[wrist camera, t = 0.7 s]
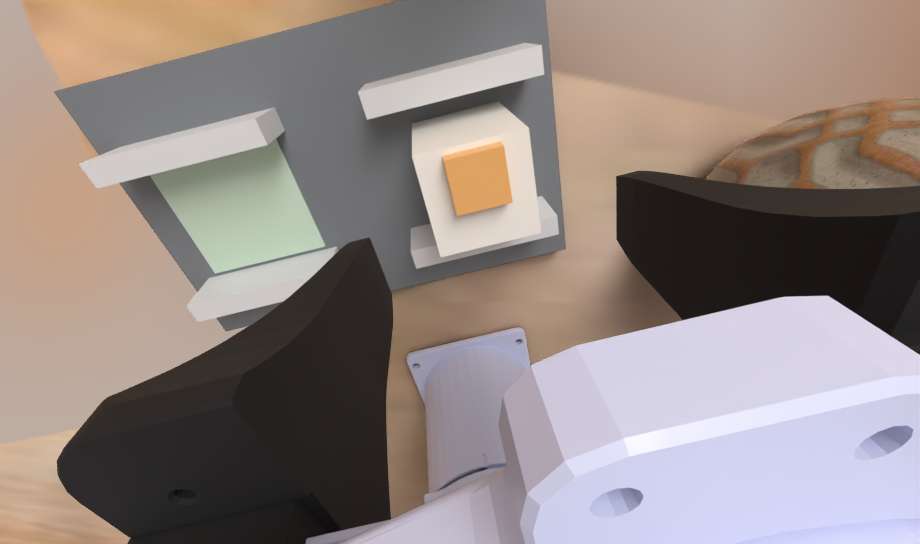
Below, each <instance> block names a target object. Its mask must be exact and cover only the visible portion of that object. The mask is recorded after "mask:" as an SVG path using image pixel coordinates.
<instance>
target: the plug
mask: <svg viewBox="0 0 920 544" xmlns="http://www.w3.org/2000/svg"><path fill="white" fill-rule="evenodd" d="M412 159H413V163H414V166H415V170H416V173H417V177H418V180H419V184H420V187H421V191H422V194H423V198H424V201H425V205H426V208H427V212H428V215H429V219H430V222H431V226H432V229H433V233H434V236H435V240H436V243H437V247H438V250H439V254H440V257H445V256H449V255H453V254H457V253H461V252H465V251H469V250H474V249H478V248H482V247H486V246H490V245H494V244H498V243H502V242H506V241H510V240H515V239H519V238H523V237H527V236H531V235H535V234H539V233H541V226H540V217H539V209H538V201H537V192H536V184H535V175H534V167H533V158H532V150H531V141H530V133H529V127H527V126H526V125H525V124H524V123H523V122H522V121H520V120H519V119H518V118H517V117H516V116H515V115H513V114H512V113H511V112H510V111H509V110H508V109H506V108H505V107H504V106H503V105H502V104H501V103H499V102H494V103H490V104H486V105H482V106H478V107H474V108H470V109H466V110H462V111H458V112H454V113H450V114H446V115H442V116H438V117H435V118H431V119H427V120H423V121H419V122H415V123H412Z"/></svg>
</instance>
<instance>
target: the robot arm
mask: <svg viewBox="0 0 920 544" xmlns="http://www.w3.org/2000/svg"><path fill="white" fill-rule="evenodd" d="M616 186H617V241H618V242H619V244H620V246H621V247H622V249H623V251H624V252H625V254H626V255H627V257H628V258H629V260H630V261H631V263H632V264H633V265H634V266H635V268H636V269H637V270H638V271H639V272H640V273H641V274H642V275H643V277H644V278H645V279H646V280H647V281H648V282H649V283H650V284H651V285H652V286H653V288H654V289H655V290H656V291H657V292H658V293H659V294H660V295H661V296H662V297H663V298H664V300H665V301H666V302H667V303H668V304H669V305H670V306H671V307H672V308H673V309H674V310H675V311H676V313H677V314H678V315H679V316H680V317H681V318H682V321H677V322H673V323H669V324H665V325H660V326H656V327H652V328H648V329H643V330H639V331H635V332H631V333H626V334H622V335H618V336H614V337H609V338H605V339H601V340H597V341H592V342H588V343H584V344H580V345H575V346H572V347H570V348H568V349H565V350H563V351H561V352H558V353H556V354H554V355H552V356H549V357H547V358H545V359H543V360H540V361H538V362H536V363H534V364H532V365H531V366H530V360H529V354H528V348H527V342H526V336H525V333H524V330H523V329H522V328H520V327H516V328H511V329H507V330H503V331H499V332H495V333H490V334H486V335H482V336H478V337H474V338H469V339H465V340H461V341H457V342H452V343H448V344H444V345H440V346H436V347H431V348H427V349H423V350H419V351H415V352H411V353H409V354H408V355H407V364H408V366H409V368H410V371H411V373H412V376H413V378H414V381H415V383H416V386H417V388H418V390H419V393H420V395H421V398H422V400H423V403H424V405H425V408H426V433H427V459H428V486H429V493H428V494H425V495H424V504H423V505H421V506H418V507H416V508H414V509H412V510H410V511H408V512H405V513H403V514H401V515H399V516H397V517H395V518H392V519H391V515H390V500H389V482H388V464H387V434H386V388H387V377H388V367H389V358H390V349H391V339H392V329H393V306H392V293H391V291H390V288H389V285H388V283H387V280H386V278H385V275H384V273H383V270H382V267H381V265H380V262H379V260H378V257H377V254H376V252H375V249H374V247H373V244H372V242H371V239H370V237H369V238H365V239H361V240H357V241H352V242H349V243H348V244H346V245H345V246H344V247H342V248H341V249H340V250H339V251H338V252H337V253H336V254H335V255H334V256H333V257H332V258H331V259H330V260H329V261H328V262H327V263H326V264H325V265H324V266H323V267H321V268H320V269H319V270H318V271H317V272H316V273H315V274H314V275H313V276H312V277H311V278H310V279H309V280H308V281H307V282H305V283H304V284H303V285H302V286H301V287H300V288H299V289H298V290H296V291H295V292H294V293H293V294H292V295H291V296H290V297H288V298H287V299H286V300H285V301H284V302H282V303H281V304H280V305H278V306H277V307H276V308H274V309H273V310H272V311H270V312H269V313H268V314H266V315H265V316H263V317H262V318H261V319H259V320H258V321H256V322H255V323H253V324H252V325H250V326H248V327H247V328H245V329H244V330H242V331H241V332H239V333H237V334H236V335H234V336H233V337H231V338H229V339H228V340H226V341H224V342H223V343H221V344H219V345H217V346H216V347H214V348H212V349H210V350H208V351H207V352H205V353H203V354H201V355H199V356H197V357H195V358H193V359H192V360H189V361H188V362H185V363H183V364H182V365H180V366H177V367H175V368H173V369H171V370H169V371H167V372H165V373H163V374H161V375H158V376H156V377H154V378H151V379H149V380H147V381H144V382H142V383H140V384H138V385H135V386H133V387H131V388H129V389H127V390H124V391H122V392H119V393H117V394H114V395H112V396H110V397H108V398H106V399H105V400H104V401H103V402H102V403H101V404H100V405H99V406H98V407H97V409H96V410H95V411H94V412H93V414H92V415H91V416H90V417H89V418H88V419H87V421H86V422H85V423H84V425H83V426H82V427H81V428H80V429H79V430H78V432H77V433H76V434H75V435H74V436H73V438H72V439H71V440H70V441H69V442H68V444H67V445H66V446H65V447H64V449H63V451H62V452H61V454H60V456H59V458H58V460H57V471H58V476H59V479H60V480H61V482H62V484H63V486H64V487H65V489H66V491H67V492H68V493H69V494H70V495H71V496H73V497H74V498H75V499H76V500H77V501H78V502H79V503H81V504H82V505H84V506H85V507H86V508H88V509H89V510H91V511H92V512H94V513H95V514H97V515H98V516H99V517H101V518H102V519H104V520H105V521H107V522H108V523H110V524H111V525H112V526H114V527H115V528H117V529H118V530H120V531H121V532H123V533H124V534H125V535H127V536H128V537H131V538H130V540H129V542H128V544H920V186H908V187H893V188H868V189H801V188H782V187H765V186H754V185H745V184H736V183H728V182H721V181H713V180H707V179H700V178H694V177H688V176H681V175H675V174H669V173H661V172H653V171H636V172H632V173H628V174H624V175H620V176H616ZM518 339H521V340H519V341H516V340H518ZM414 364H418V365H414Z"/></svg>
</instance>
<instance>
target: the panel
mask: <svg viewBox="0 0 920 544" xmlns="http://www.w3.org/2000/svg"><path fill="white" fill-rule="evenodd" d="M54 93H55V94H56V95H57V97H58V98H59V100H60V101H61V102H62V104H63V105H64V106H65V108H66V109H67V111H68V112H69V113H70V115H71V116H72V118H73V119H74V120H75V122H76V123H77V125H78V126H79V127H80V129H81V130H82V132H83V133H84V134H85V136H86V137H87V139H88V140H89V141H90V143H91V144H92V145H93V147H94V148H95V150H96V151H97V152H98V154H99V156H97V157H94V158H92V159H89V160H87V161H85V162H82V163H80V164H79V165H80V167H81V168H82V169H83V171H84V172H85V173H86V175H87V176H88V177H89V179H90V180H91V181H92V183H93V184H94V185H95V187H96V188H101V187H105V186H109V185H113V184H117V183H120V184H121V186H122V187H123V189H124V190H125V191H126V193H127V194H128V195H129V197H130V198H131V200H132V201H133V203H134V204H135V205H136V207H137V208H138V209H139V211H140V212H141V214H142V215H143V217H144V218H145V219H146V221H147V222H148V223H149V225H150V226H151V228H152V229H153V230H154V232H155V233H156V234H157V236H158V237H159V239H160V240H161V242H162V243H163V244H164V245H165V247H166V248H167V250H168V251H169V253H170V254H171V255H172V257H173V258H174V260H175V261H176V262H177V264H178V265H179V267H180V268H181V269H182V271H183V272H184V274H185V275H186V276H187V278H188V279H189V281H190V282H191V283H192V285H193V286H194V288H195V289H196V290H197V293H196V295H195V296H194V297H193V298H192V300H191V301H190V302H189V303H188V305H187V306H186V307H187V308H188V310H189V311H190V312H191V314H192V315H193V316H194V317H195V319H196V320H197V321H198V322H200V321H205V320H209V319H213V318H217V320H218V321H219V322H220V324H221V325H222V326H223V328H224V329H225V331H229V330H234V329H237V328H242V327H246V326H250V325H252V324H253V323H255V322H256V321H258V320H259V319H261V318H262V317H263V316H265V315H266V314H268V313H269V312H270V311H272V310H273V309H274V308H276V307H277V306H278V305H280V304H281V303H282V302H284V301H285V300H286V299H287V298H288V297H290V296H291V295H292V294H293V293H294V292H295V291H296V290H298V289H299V288H300V287H301V286H302V285H303V284H304V283H305V282H307V281H308V280H309V279H310V278H311V277H312V276H313V275H314V274H315V273H316V272H317V271H318V270H319V269H320V268H321V267H323V266H324V265H325V264H326V263H327V262H328V261H329V260H330V259H331V258H332V257H333V256H334V255H335V254H336V253H337V252H338V251H339V250H340V249H341V248H342V247H344V246H345V245H346V244H348V243H349V242H352V241H357V240H361V239H365V238H369V237H370V239H371V242H372V244H373V247H374V249H375V252H376V254H377V257H378V260H379V262H380V265H381V267H382V270H383V273H384V275H385V278H386V280H387V283H388V285H389V288H390V291H394V290H399V289H403V288H407V287H411V286H415V285H419V284H423V283H427V282H432V281H436V280H440V279H444V278H448V277H452V276H456V275H460V274H465V273H469V272H473V271H477V270H481V269H485V268H489V267H493V266H498V265H502V264H506V263H510V262H514V261H518V260H522V259H526V258H531V257H535V256H539V255H543V254H547V253H551V252H555V251H559V250H564V249H566V245H565V233H564V221H563V209H562V196H561V184H560V172H559V160H558V148H557V136H556V124H555V112H554V99H553V87H552V75H551V63H550V51H549V39H548V27H547V15H546V3H545V0H400V1H396V2H393V3H389V4H385V5H381V6H377V7H374V8H370V9H366V10H362V11H358V12H355V13H351V14H347V15H343V16H339V17H336V18H332V19H328V20H324V21H320V22H317V23H313V24H309V25H305V26H301V27H297V28H294V29H290V30H286V31H282V32H278V33H275V34H271V35H267V36H263V37H259V38H256V39H252V40H248V41H244V42H240V43H237V44H233V45H229V46H225V47H221V48H218V49H214V50H210V51H206V52H202V53H199V54H195V55H191V56H187V57H183V58H179V59H176V60H172V61H168V62H164V63H160V64H157V65H153V66H149V67H145V68H141V69H138V70H134V71H130V72H126V73H122V74H119V75H115V76H111V77H107V78H103V79H100V80H96V81H92V82H88V83H84V84H81V85H77V86H73V87H69V88H65V89H61V90H58V91H55V92H54ZM494 102H499V103H501V104H502V105H503V106H504V107H505V108H506V109H508V110H509V111H510V112H511V113H512V114H513V115H515V116H516V117H517V118H518V119H519V120H520V121H522V122H523V123H524V124H525V125H526V126H527V127H529V133H530V141H531V150H532V158H533V167H534V175H535V184H536V192H537V201H538V209H539V217H540V226H541V233H539V234H535V235H531V236H527V237H523V238H519V239H515V240H510V241H506V242H502V243H498V244H494V245H490V246H486V247H482V248H478V249H474V250H469V251H465V252H461V253H457V254H453V255H449V256H445V257H440V254H439V250H438V247H437V243H436V240H435V236H434V233H433V229H432V226H431V222H430V219H429V215H428V212H427V208H426V205H425V201H424V198H423V194H422V191H421V187H420V184H419V180H418V177H417V173H416V170H415V166H414V163H413V159H412V123H415V122H419V121H423V120H427V119H431V118H435V117H438V116H442V115H446V114H450V113H454V112H458V111H462V110H466V109H470V108H474V107H478V106H482V105H486V104H490V103H494Z"/></svg>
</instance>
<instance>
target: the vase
mask: <svg viewBox="0 0 920 544" xmlns="http://www.w3.org/2000/svg"><path fill="white" fill-rule="evenodd" d="M705 179H707V180H713V181H721V182H728V183H736V184H745V185H754V186H765V187H782V188H801V189H868V188H893V187H908V186H920V97H896V98H882V99H875V100H867V101H859V102H852V103H847V104H842V105H837V106H833V107H829V108H825V109H821V110H816V111H813V112H809V113H806V114H803V115H801V116H798V117H795V118H792V119H790V120H787V121H785V122H783V123H781V124H778V125H776V126H774V127H771V128H769V129H767V130H766V131H764V132H762V133H760V134H758V135H756V136H754V137H753V138H751V139H749V140H748V141H746V142H745V143H743V144H742V145H740V146H739V147H738V148H736V149H735V150H734V151H732V152H731V153H730V154H729V155H728V156H726V157H725V158H724V159H723V160H722V161H721V162H720V163H719V164H718V165H717V166H716V167H715V168H714V169H713V170H712V171H711V172H710V173H709V175H708V176H707V177H706V178H705Z"/></svg>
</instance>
